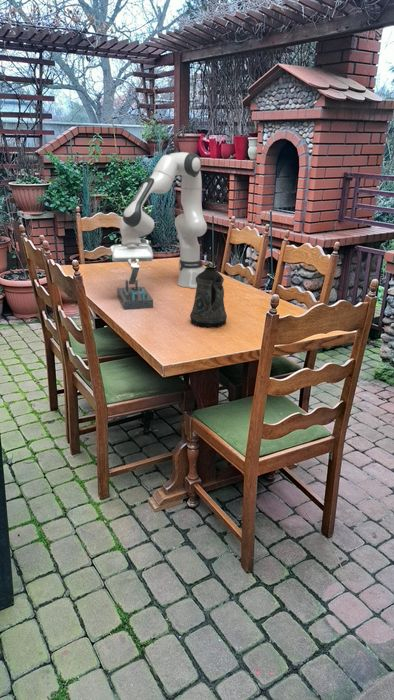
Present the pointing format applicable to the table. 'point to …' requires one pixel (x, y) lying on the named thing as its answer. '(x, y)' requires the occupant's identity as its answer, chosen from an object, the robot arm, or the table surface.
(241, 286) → the table surface
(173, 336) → the table surface
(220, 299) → the beer stein
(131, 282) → the silver long bar
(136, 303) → the grey mechanical fixture
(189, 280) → the robot arm
